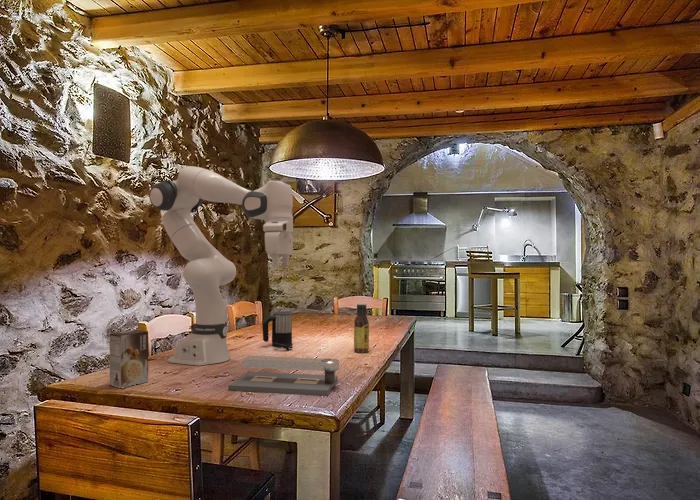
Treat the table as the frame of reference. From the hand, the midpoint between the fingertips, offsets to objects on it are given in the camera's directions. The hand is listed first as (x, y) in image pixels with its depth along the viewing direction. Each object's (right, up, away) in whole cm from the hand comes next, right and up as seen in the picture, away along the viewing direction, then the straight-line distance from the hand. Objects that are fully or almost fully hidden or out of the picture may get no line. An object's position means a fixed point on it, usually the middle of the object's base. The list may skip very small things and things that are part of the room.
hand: (280, 268), depth 149 cm
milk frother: (-6, -37, +44) cm, 57 cm away
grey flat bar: (+5, -30, -14) cm, 33 cm away
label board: (+4, -36, -13) cm, 38 cm away
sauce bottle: (+28, -37, +35) cm, 58 cm away
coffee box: (-45, -36, -13) cm, 59 cm away
